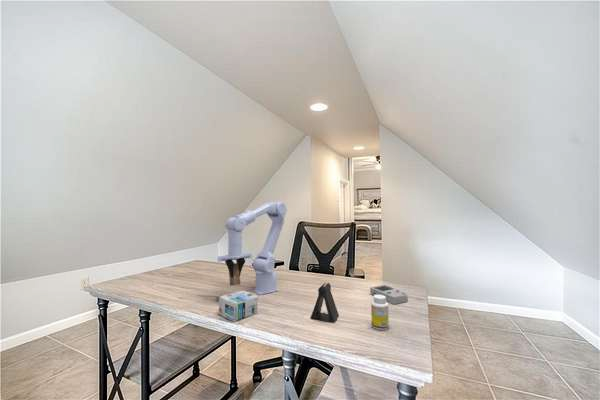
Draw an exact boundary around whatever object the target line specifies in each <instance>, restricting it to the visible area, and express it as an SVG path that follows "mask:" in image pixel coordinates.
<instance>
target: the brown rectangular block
mask: <svg viewBox="0 0 600 400" xmlns="http://www.w3.org/2000/svg"><path fill="white" fill-rule="evenodd" d="M228 276H229V277H228V279H229V285H230V286H237V285H241V278H240V277H241V275H240V276H239V265H238V263H237V262H236V263H235V262H234V267H233V278H231V277H230V273H229V272H228Z"/></svg>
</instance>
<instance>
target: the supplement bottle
mask: <svg viewBox="0 0 600 400" xmlns="http://www.w3.org/2000/svg"><path fill="white" fill-rule="evenodd" d="M370 306H371V327H372V328H374V329H375V330H379V331H385V330H386V331H387V330H388V329H389V327H390V321H389V319H390V318H389V317H390V316H389V315H390V314H389V312H390V311H389V302H387V301H386V297H385V296H383V295H373V300H372V301H371V305H370Z"/></svg>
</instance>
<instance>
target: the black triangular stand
mask: <svg viewBox="0 0 600 400" xmlns="http://www.w3.org/2000/svg"><path fill="white" fill-rule="evenodd" d="M331 288H332V286H331V284H330V283H329V282H327V283H326V282H324V283H323V284H322V285H321V286H319V287H318V290H317V292H318V296H317V298H316V301H315V304H314V307H313V310H312V313H311V316H310V320H313V321H318V322H319V321H320V322H327V323H331V324H335V323H336V321H337V320H338V318H339V311H338V309H337V306H336V302H335V300H334V297H333V293H332V290H331ZM323 303H324V304H325V306H326V312H327V313H325V312H324V313H323V312H321V311H322V308H323Z"/></svg>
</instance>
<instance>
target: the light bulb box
mask: <svg viewBox="0 0 600 400" xmlns="http://www.w3.org/2000/svg"><path fill="white" fill-rule="evenodd" d="M218 298H219V302H218V314H219V315H220V316H222V317H224V318H226V319H227V320H230V321H231V322H237V321H239V320H242V319H246V318H248V317H251V316H254V315H257V314H258V313H259V311H258V310H259V309H258V307H259V306H258V305H259V304H258V303H259V297H258V295H255V294H252V293H250V292H249V291H248V292H247V291H245V290H239V291H236V292H233V293H232V292H231V293H227V294H224V295H220V296H219V297H218Z"/></svg>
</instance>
